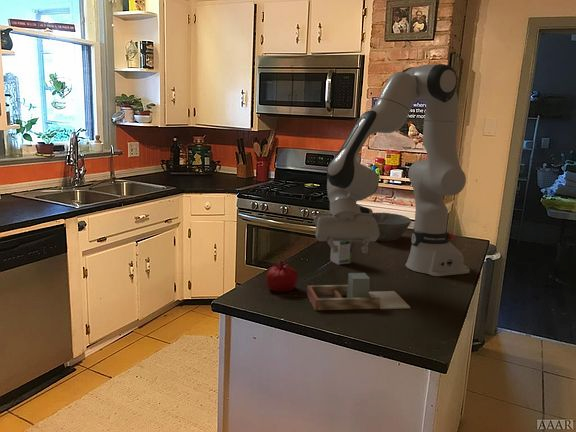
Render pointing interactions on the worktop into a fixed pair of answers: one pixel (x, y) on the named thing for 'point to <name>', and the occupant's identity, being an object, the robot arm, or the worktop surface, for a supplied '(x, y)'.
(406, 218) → the ceramic bowl
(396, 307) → the pad
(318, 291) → the wooden divided tray
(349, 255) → the syrup box
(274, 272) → the pomegranate
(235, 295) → the worktop surface
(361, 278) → the grey-green block
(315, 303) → the box
